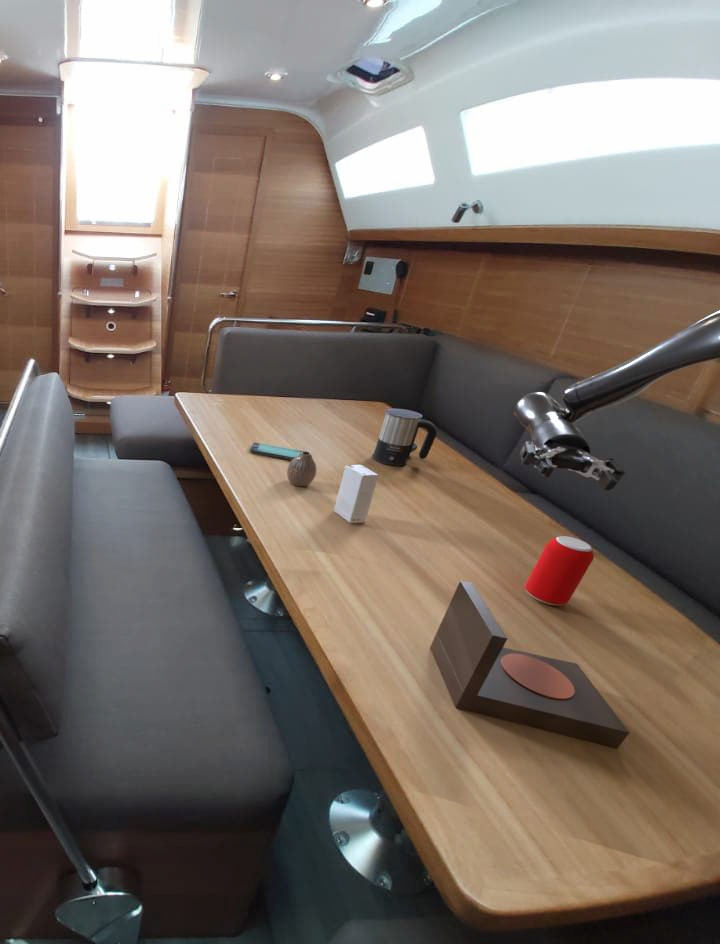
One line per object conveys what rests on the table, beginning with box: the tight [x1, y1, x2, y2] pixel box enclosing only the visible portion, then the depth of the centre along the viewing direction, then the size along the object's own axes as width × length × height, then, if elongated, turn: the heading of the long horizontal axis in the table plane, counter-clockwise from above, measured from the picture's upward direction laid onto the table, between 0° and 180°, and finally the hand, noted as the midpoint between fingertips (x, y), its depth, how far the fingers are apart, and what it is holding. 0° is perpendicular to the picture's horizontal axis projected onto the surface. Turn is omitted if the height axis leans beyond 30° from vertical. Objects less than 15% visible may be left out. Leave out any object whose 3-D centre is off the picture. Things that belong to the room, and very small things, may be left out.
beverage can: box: [524, 535, 595, 606], centre depth 88 cm, size 6×6×12 cm
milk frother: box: [371, 408, 438, 467], centre depth 148 cm, size 14×16×15 cm
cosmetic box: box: [333, 464, 379, 524], centre depth 114 cm, size 6×4×12 cm
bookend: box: [429, 580, 630, 749], centre depth 68 cm, size 18×12×13 cm, turn 72°
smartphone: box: [249, 442, 304, 461], centre depth 150 cm, size 7×1×15 cm
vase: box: [286, 450, 317, 488], centre depth 130 cm, size 7×7×9 cm
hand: (579, 479), depth 89 cm, fingers open, 8 cm apart
